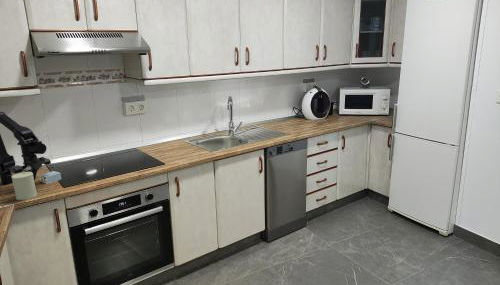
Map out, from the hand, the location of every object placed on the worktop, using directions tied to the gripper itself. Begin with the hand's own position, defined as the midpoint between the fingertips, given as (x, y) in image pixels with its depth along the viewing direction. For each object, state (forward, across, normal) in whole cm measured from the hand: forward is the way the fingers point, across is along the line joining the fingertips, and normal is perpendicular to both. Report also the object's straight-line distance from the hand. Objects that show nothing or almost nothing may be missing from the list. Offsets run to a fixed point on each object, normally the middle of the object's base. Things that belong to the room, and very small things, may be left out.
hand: (33, 180), depth 196 cm
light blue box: (+1, +5, 0) cm, 5 cm away
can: (+3, -10, -12) cm, 16 cm away
